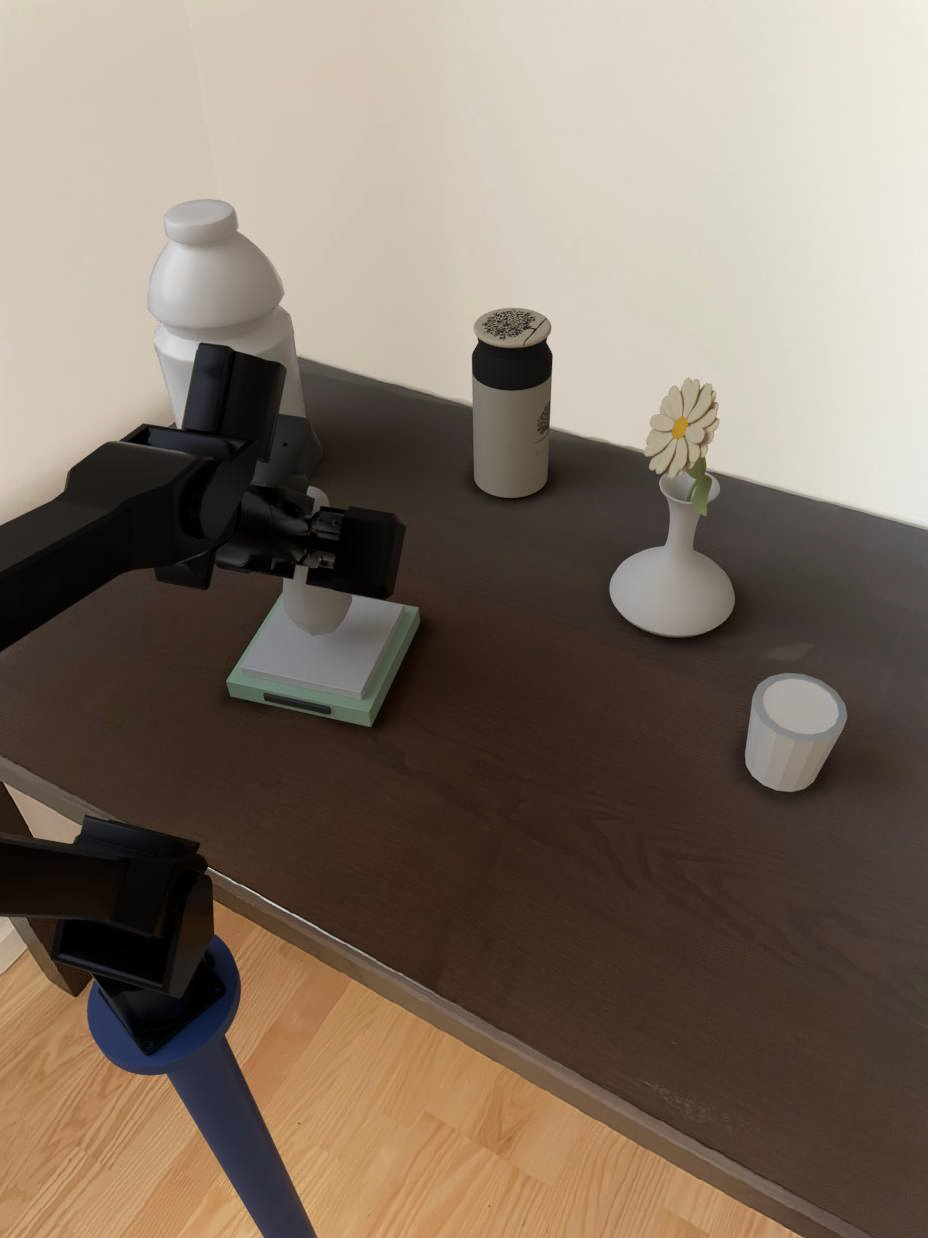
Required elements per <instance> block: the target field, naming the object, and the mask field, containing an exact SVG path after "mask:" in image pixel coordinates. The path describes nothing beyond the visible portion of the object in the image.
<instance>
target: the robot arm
mask: <svg viewBox="0 0 928 1238" xmlns="http://www.w3.org/2000/svg"><path fill="white" fill-rule="evenodd" d="M286 373H287V368H286V367H285V366H284V365H282V364H281V363H279V362H276V361H269V360H265V359H262V358H259V357H256V356H253V355H250V354H246V353H242V352H238V351H235V350H234V349H232V348H231V347H229V346H226V345H218V344H211V343H203V342H201V343H200V344H199V345H198V349H197V350H196V354H195V359H194V364H193V369H192V374H191V380H190V385H189V390H188V395H187V400H186V405H185V410H184V416H183V421H182V426H181V429H178V428H177V427H170V426H166V425H165V426H164V425H157V424H151V423H144V422H143V423H142V424H140V425H139V426H137V427H136V428H135V429H133V430H132V431H131V432H129V433H127V434H126V435H125V436H124V437H122V438H121V439H120V440H109V441H107V442H104V443H103V444H101V445H100V446H99V447H97V448H95V449H94V450H93V451H92V452H90V453H89V454H88V455H87V456H85V457H84V458H82V459H81V460H79V461H78V462H77V463H75V465H73V466H72V467H71V468H70V469H69V470H68V471H67V474H66V477H65V484H64V489H63V491H62V492H61V493H59V494H58V495H57V496H56V497H54V498H52V499H51V500H50V501H48V502H45V503H44V504H41V505H39V506H37V507H35V508H33V509H31V510H29V511H26V512H25V513H22V514H21V515H19V516H16V517H15V518H13V519H11V520H9V521H6V522H4V523H2V524H0V653H2V652H4V651H5V650H7V649H8V648H10V647H11V646H13V645H14V644H16V643H17V642H19V641H20V640H22V639H23V638H25V637H26V636H28V635H30V634H31V633H33V632H34V631H36V630H37V629H39V628H41V627H42V626H44V625H45V624H47V623H48V622H49V621H51V620H53V619H54V618H56V617H57V616H59V615H60V614H62V613H63V612H65V611H66V610H68V609H70V608H71V607H72V606H74V605H76V604H78V603H79V602H81V601H83V599H85V598H86V597H88V596H90V595H91V594H93V593H94V592H96V591H97V590H99V589H100V588H102V587H103V586H105V585H107V584H108V583H110V582H111V581H113V580H114V579H116V578H117V577H119V576H122V575H124V574H126V573H129V572H132V571H137V570H147V569H148V570H149V569H153V573H154V577H155V580H156V581H157V582H159V583H163V584H169V585H174V586H179V587H185V588H190V589H194V590H195V589H196V590H200V591H208V590H209V589H210V588H211V585H212V578H213V575H214V568H215V566H216V567H217V568H218V569H222V570H226V571H232V572H237V573H241V574H246V575H247V574H251V573H255V574H261V575H266V576H272V577H277V578H282V579H283V578H287V579H293V578H294V573H295V567H296V565H298V566H304V567H308V573H307V578H306V583H305V584H306V585H311V586H316V587H321V588H327V589H332V590H334V591H338V592H343V593H348V594H351V595H356V596H361V597H366V598H372V599H377V600H382V601H387V599H388V598H390V597H392V596H393V595H394V594H395V589H396V588H395V587H396V584H397V579H398V578H397V576H398V573H399V566H400V563H401V562H400V561H401V557H402V552H403V546H404V540H405V536H406V532H407V531H406V530H407V524H406V523H405V522H404V520H403V519H402V517H401V516H399V515H398V514H396V513H394V512H387V511H383V510H378V509H377V510H376V509H371V508H364V507H359V506H352V505H349V506H348V508H347V509H343V508H337V507H332V506H330V507H326V506H320V510H319V511H318V512H316V513H314V514H313V516H312V517H311V518H305V515H308V516H311V515H312V512H313V507H314V502H315V499H314V498H312V497H310V496H308V495H307V491H308V488H309V486H311V483H312V480H313V477H314V474H315V472H316V470H317V469H316V468H317V465H318V463H319V460H320V459H321V458H322V455H323V447H322V444H321V442H320V440H319V438H318V436H317V434H316V432H315V429H314V428H313V426H312V424H311V422H310V421H309V419H307V417H306V418H303V417H299V416H292V415H285V414H279V409H280V404H281V399H282V393H283V388H284V383H285V378H286ZM313 529H314V530H316V531H312V530H313ZM305 550H306V554H305ZM200 847H201V842H200V841H195V840H192V839H189V838H184V837H180V836H176V835H174V834H173V835H172V834H168V833H164V832H161V831H157V830H153V829H148V828H145V827H142V826H139V825H138V826H136V825H133V824H131V823H130V824H129V823H126V822H122V821H118V820H114V819H104V818H100V817H96V816H92V815H89V814H84V816H83V821H82V824H81V828H80V832H79V834H78V835H76V836H75V837H74V839H73V842H71V843H69V842H62V841H58V840H57V841H56V840H51V839H45V838H39V837H34V836H27V835H22V834H16V833H9V832H3V831H0V918H25V919H55V920H56V925H55V930H54V934H53V940H52V946H51V951H50V955H49V956H50V961H52V962H54V963H59V964H62V965H64V966H69V967H72V968H75V969H77V970H82V971H85V972H88V973H89V974H90V975H91V977H92V979H93V981H94V980H95V982H96V983H97V985H98V986H99V988H98V993H99V995H100V996H101V998H102V999H103V1000H104V1002H105V1003H106V1004H107V1006H108V1007H109V1008H110V1010H111V1011H112V1013H113V1014H114V1015H115V1017H116V1018H117V1019H118V1021H119V1022H120V1023H121V1025H122V1026H123V1028H124V1029H125V1030H126V1032H127V1033H128V1034H129V1036H130V1037H131V1038H132V1040H133V1041H134V1043H135V1044H136V1045H137V1047H138V1048H139V1049H140V1051H141V1052H142V1053H143V1054H144V1055H146V1056H149V1055H152V1054H153V1053H155V1052H156V1051H157V1050H158V1049H159V1048H161V1047H162V1046H163V1045H164V1044H165V1043H167V1042H168V1041H169V1040H170V1039H172V1038H173V1037H174V1036H175V1035H176V1034H178V1033H179V1032H180V1031H181V1030H182V1029H184V1028H185V1027H186V1026H187V1025H188V1024H190V1023H191V1022H192V1021H193V1020H195V1019H196V1018H197V1017H198V1016H199V1015H201V1014H202V1013H203V1012H204V1011H205V1010H207V1009H208V1008H209V1007H210V1006H211V1005H213V1004H214V1003H215V1002H216V1001H218V1000H219V999H220V998H221V997H222V996H223V995H224V994H225V992H226V987H225V985H224V983H223V982H222V981H221V980H220V978H219V977H218V976H217V975H216V974H215V972H214V971H213V970H212V968H214V967H215V964H216V961H215V958H214V956H213V954H212V951H211V949H210V947H209V943H210V941H211V939H212V937H213V935H214V934H215V916H214V915H215V913H214V912H215V911H214V888H213V887H214V885H213V880H212V877H211V876H210V875H208V874H205V873H206V872H207V870H208V868H209V863H208V861H207V859H206V857H205V856H203V855H202V854H200V853H199V852H198V851H199V849H200ZM217 988H221V990H220V991H219V992H215V990H216V989H217ZM149 1044H151V1045H152V1046H151V1048H150V1049H148V1050H146V1049H145V1048H146V1046H147V1045H149Z"/></svg>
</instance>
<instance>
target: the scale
mask: <svg viewBox="0 0 928 1238" xmlns="http://www.w3.org/2000/svg"><path fill="white" fill-rule="evenodd" d="M351 595H352V603H351V606H350V608H349V610H348V613H347V615H346V617H345V619H344V621H343V622H342V623H341V624H340V625H339V627H338V628H337V629H336V630H335V632H334V633H328V634H322V635H317V636H311V635H309V634H308V633H306V632H304V631H303V630H301V629H299V628H298V627H297V626H296V625H295V624H294V623H293V622H292V621H291V619H290V618H289V617H288V616H287V615H286V613H285V611H284V607H283V600H282V597H283V591H282V592H281V593H280V595H279V597H278V598H277V600H276V601H275V603H274V605H273V606H272V608H271V610H270V611H269V612H268V614H267V615H266V617H265V619H264V620H263V622H262V623H261V625H260V627H259V628H258V630H257V632H256V633H255V635H254V636H253V638H252V640H251V641H250V642H249V644H248V646H247V647H246V649H245V650H244V652H243V654H242V655H241V657H240V658H239V660H238V661H237V663H236V665H235V666H234V668H233V669H232V671H231V672H230V674H229V676H228V677H227V679H226V681H225V682H226V686H227V689H228V692H229V696H230V697H232V698H236V699H240V700H245V701H250V702H255V703H259V704H263V705H268V706H272V707H277V708H282V709H286V710H291V711H295V712H301V713H305V714H308V715H309V714H310V715H312V716H313V715H314V716H318V717H321V718H322V717H323V718H328V719H332V720H337V721H341V722H345V723H350V724H354V725H359V726H362V727H369V728H372V726H373V724H374V723H375V720H376V718H377V716H378V713H379V712H380V710H381V708H382V705H383V703H384V701H385V699H386V697H387V694H388V692H389V690H390V688H391V686H392V684H393V682H394V679H395V677H396V675H397V673H398V672H399V669H400V667H401V665H402V662H403V661H404V658H405V656H406V655H407V652H408V649H409V648H410V645H411V644H412V642H413V639H414V637H415V636H416V635H415V634H416V633H417V631H418V628H419V626H420V624H421V615H420V607H419V606H414V605H409V604H403V603H399V602H393V601H387V600H380V599H375V598H369V597H364V596H359V595H353V594H351Z"/></svg>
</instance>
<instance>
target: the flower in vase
mask: <svg viewBox="0 0 928 1238" xmlns="http://www.w3.org/2000/svg"><path fill="white" fill-rule="evenodd" d="M716 398H717V392H716V390H715V389H713V384H712V383H710V382H709V383H708V382H706V383H704V384H703V385H702V386H701V382H700V380H699V378H694V379H693V380H692V379H691V378H690V377H687V378H685V379H684V380H683V382H682V385H681V387H680V389H679V387H678V386H677V385H672V386H670V388H669V390H668V392H667V395H666V396H664V397H663V398H662V400H661V405H660V406H659V413H657V414H656V413H655V414H654V415H652V416H651V418H650V420H649V425H650V427H651V430H650V431H649V434H648V435H647V437H646V439H645V443H646V445H647V446H645V448H644V451H643V454H644V456H645V458H649V457H652V458H651V460H650V462H649V465H648V469H649V470H650V471H653V472H654V471H655V473H656V475H660V474H663V473H664V472H665V471H666V472H665V473H664V474H663V475H662V476H661V477H660V478H659V483H658V484H659V488H660V492H662V494H663V495H664V497H665V498H666V500H667V503H668V508H669V527H668V534H667V539H666V542H665V544H664V545H660V546H654V547H650V548H647V549H644V550H642V551H639V552H637V553H635V554H632V555H631V556H629V557H627V558H626V559H625V560H623V561H622V562H621V563H619V565H618V567H617V569H616V570H615V572H614V573H613V574H612V576H611V579H610V582H609V596H610V599H611V601H612V603H613V606H614V607H615V608H616V610H617V611H618V612H619V614H620V615H621V616H622V617H624V619H625V620H626V621H628V622H629V623H630V624H631V625H633V626H635V627H637V628H638V629H640V630H642V631H644V632H647V633H649V634H652V635H657V636H660V637H667V638H691V637H696V636H700V635H703V634H706V633H708V632H710V631H713V630H714V629H716V628H718V626H720V625H722V624H723V623H724V622H726V620H727V619H728V618H729V617H730V616H731V614H732V612H733V611H734V607H735V602H736V597H735V591H734V587H733V584H732V581H731V580H730V577H729V576H728V574H727V572H726V571H724V570H723V568H722V567H720V565H718V564H717V563H716V562H715V561H714V560H712V559H711V558H710V557H708V556H706V555H705V554H703V553H701V552H698V551H696V550H695V549H694V541H695V534H696V530H697V526H698V523H699V520H700V517H701V515H702V516H703V517H707V514H708V512H707V511H708V504H710V503H711V502H712V501H714V500H715V499H716V498H717V497H718V496H719V494H720V492H721V485H720V482H719V481H718V480H717V478H716V477H715V476H714V475H712V474H710V473H709V472H706V471H707V460H706V455H707V454H708V451H709V446H708V445H710V444H711V443H712V442H713V440H714V438H715V431H716V430H717V429H718V428H719V426H720V421H721V420H720V419H719V418H718V417H717V414H718V410H719V402H718V401H716Z"/></svg>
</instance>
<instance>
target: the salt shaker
mask: <svg viewBox="0 0 928 1238" xmlns="http://www.w3.org/2000/svg"><path fill="white" fill-rule="evenodd" d="M307 495H308V496H310V497H312V498H314V499H315V502H314V507H313V512H312V515H311V516H308V515H305V518H311V517H312V516H313V514H314V513H316V512H318V511H319V510H320V506H326V507H331V506H330V501H329V499H328V495H327V494H326V493H325V492H324V491H323V490H321V489H320V488H318V487H316V486H311V485H309V488H308V491H307ZM312 531H316V530H314V529H313V530H312ZM305 554H306V550H305ZM307 573H308V567H304V566H298V565H296V567H295V573H294V578H293V579H287V578H282V592H283V597H282V600H283V607H284V611H285V613H286V615H287V616H288V617H289V618H290V619H291V621H292V622H293V623H294V624H295V625H296V626H297V627H298V628H299V629H301V630H303V631H304V632H306V633H308V634H309V635H311V636H317V635H322V634H328V633H334V632H335V630H336V629H337V628H338V627H339V625H340V624H341V623H342V622H343V621H344V619H345V617H346V615H347V613H348V610H349V608H350V606H351V603H352V595H353V594H348V593H343V592H338V591H334V590H332V589H327V588H321V587H316V586H311V585H306V584H305V583H306V578H307Z"/></svg>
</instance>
